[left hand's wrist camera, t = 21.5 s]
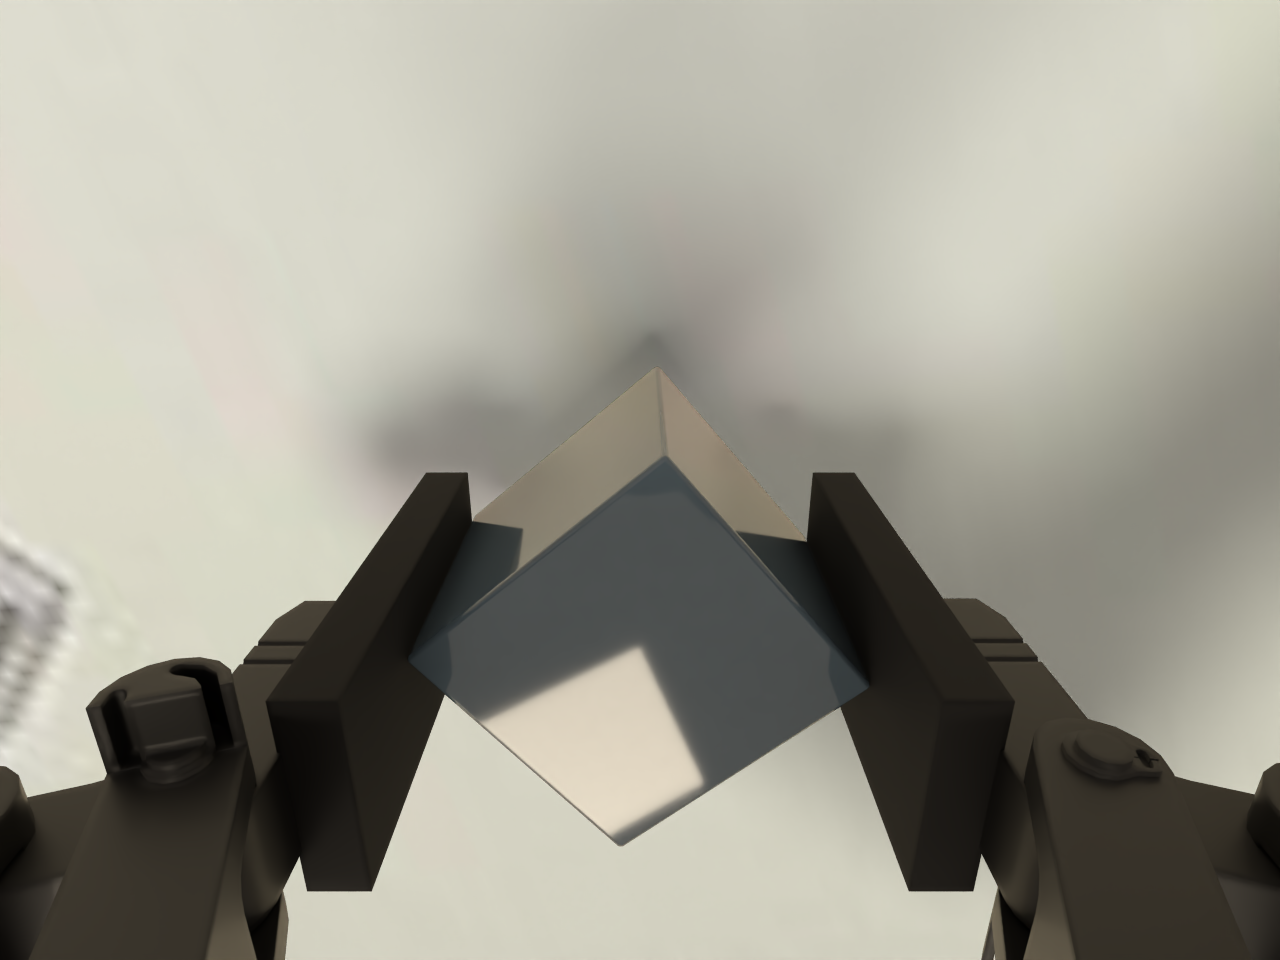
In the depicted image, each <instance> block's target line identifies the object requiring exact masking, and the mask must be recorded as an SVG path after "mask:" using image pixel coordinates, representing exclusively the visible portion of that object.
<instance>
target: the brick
mask: <svg viewBox="0 0 1280 960" xmlns="http://www.w3.org/2000/svg"><path fill="white" fill-rule="evenodd" d="M407 659H408V662H409V663H410V664H411V665H412V666H413V667H414V668H415V669H417V670H418V671H419V672H420V673H421V674H422V675H423V676H425V677H426V678H427V679H428V680H429V681H430V682H431V683H433V684H434V685H435V686H436V687H437V688H438V689H439V690H441V691H442V692H443V693H444V694H445V695H446V696H447V697H449V698H450V699H451V700H452V701H453V702H454V703H455V704H457V705H458V706H459V707H460V708H461V709H462V710H463V711H465V712H466V713H467V714H468V715H469V716H470V717H471V718H473V719H474V720H475V721H476V722H477V723H478V724H479V725H481V726H482V727H483V728H484V729H485V730H486V731H487V732H489V733H490V734H491V735H492V736H493V737H494V738H495V739H497V740H498V741H499V742H500V743H501V744H502V745H503V746H505V747H506V748H507V749H508V750H509V751H510V752H511V753H513V754H514V755H515V756H516V757H517V758H518V759H519V760H521V761H522V762H523V763H524V764H525V765H526V766H527V767H529V768H530V769H531V770H532V771H533V772H534V773H535V774H537V775H538V776H539V777H540V778H541V779H542V780H543V781H545V782H546V783H547V784H548V785H549V786H550V787H551V788H553V789H554V790H555V791H556V792H557V793H558V794H559V795H561V796H562V797H563V798H564V799H565V800H566V801H567V802H569V803H570V804H571V805H572V806H573V807H574V808H575V809H577V810H578V811H579V812H580V813H581V814H582V815H583V816H585V817H586V818H587V819H588V820H589V821H590V822H591V823H593V824H594V825H595V826H596V827H597V828H598V829H599V830H601V831H602V832H603V833H604V834H605V835H606V836H607V837H609V838H610V839H611V840H612V841H613V842H614V843H615V844H617V845H618V846H620V847H621V846H624V845H625V844H627V843H629V842H630V841H632V840H633V839H635V838H636V837H638V836H639V835H641V834H643V833H644V832H646V831H647V830H649V829H650V828H652V827H653V826H655V825H657V824H658V823H660V822H661V821H663V820H664V819H666V818H667V817H669V816H671V815H672V814H674V813H675V812H677V811H678V810H680V809H682V808H683V807H685V806H686V805H688V804H689V803H691V802H692V801H694V800H696V799H697V798H699V797H700V796H702V795H703V794H705V793H706V792H708V791H710V790H711V789H713V788H714V787H716V786H717V785H719V784H721V783H722V782H724V781H725V780H727V779H728V778H730V777H731V776H733V775H735V774H736V773H738V772H739V771H741V770H742V769H744V768H745V767H747V766H749V765H750V764H752V763H753V762H755V761H756V760H758V759H760V758H761V757H763V756H764V755H766V754H767V753H769V752H770V751H772V750H774V749H775V748H777V747H778V746H780V745H781V744H783V743H784V742H786V741H788V740H789V739H791V738H792V737H794V736H795V735H797V734H799V733H800V732H802V731H803V730H805V729H806V728H808V727H809V726H811V725H813V724H814V723H816V722H817V721H819V720H820V719H822V718H823V717H825V716H827V715H828V714H830V713H831V712H833V711H834V710H836V709H838V708H839V707H841V706H842V705H844V704H845V703H847V702H848V701H850V700H852V699H853V698H855V697H856V696H858V695H859V694H861V693H862V692H864V691H866V690H867V689H868V688H869V687H870V684H869V681H868V679H867V676H866V674H865V672H864V670H863V667H862V665H861V663H860V661H859V658H858V656H857V654H856V652H855V649H854V647H853V645H852V643H851V641H850V638H849V636H848V634H847V632H846V629H845V627H844V625H843V623H842V620H841V618H840V616H839V614H838V611H837V609H836V607H835V605H834V603H833V600H832V598H831V596H830V594H829V591H828V589H827V587H826V585H825V582H824V580H823V578H822V576H821V573H820V571H819V569H818V567H817V565H816V562H815V560H814V558H813V556H812V553H811V551H810V549H809V547H808V544H807V542H806V540H805V538H804V536H803V535H802V534H801V532H800V531H799V530H798V529H797V528H796V526H795V525H794V524H793V523H792V522H791V521H790V519H789V518H788V517H787V516H786V515H785V514H784V512H783V511H782V510H781V509H780V508H779V507H778V505H777V504H776V503H775V502H774V501H773V500H772V498H771V497H770V496H769V495H768V494H767V492H766V491H765V490H764V489H763V488H762V487H761V485H760V484H759V483H758V482H757V481H756V480H755V478H754V477H753V476H752V475H751V474H750V473H749V471H748V470H747V469H746V468H745V467H744V466H743V464H742V463H741V462H740V461H739V460H738V458H737V457H736V456H735V455H734V454H733V453H732V451H731V450H730V449H729V448H728V447H727V446H726V444H725V443H724V442H723V441H722V440H721V439H720V437H719V436H718V435H717V434H716V433H715V432H714V430H713V429H712V428H711V427H710V426H709V424H708V423H707V422H706V421H705V420H704V419H703V417H702V416H701V415H700V414H699V413H698V412H697V410H696V409H695V408H694V407H693V406H692V405H691V403H690V402H689V401H688V400H687V399H686V398H685V396H684V395H683V394H682V393H681V392H680V391H679V389H678V388H677V387H676V386H675V385H674V383H673V382H672V381H671V380H670V379H669V378H668V376H667V375H666V374H665V373H664V372H663V371H662V369H661V368H659V367H655V368H653V369H652V370H651V371H650V372H648V373H647V374H646V375H645V376H644V377H642V378H641V379H640V380H639V381H638V382H636V383H635V384H634V385H633V386H631V387H630V388H629V389H628V390H627V391H625V392H624V393H623V394H622V395H621V396H619V397H618V398H617V399H616V400H615V401H613V402H612V403H611V404H610V405H609V406H607V407H606V408H605V409H604V410H602V411H601V412H600V413H599V414H598V415H596V416H595V417H594V418H593V419H592V420H590V421H589V422H588V423H587V424H586V425H584V426H583V427H582V428H581V429H580V430H578V431H577V432H576V433H575V434H574V435H572V436H571V437H570V438H569V439H567V440H566V441H565V442H564V443H563V444H561V445H560V446H559V447H558V448H557V449H555V450H554V451H553V452H552V453H551V454H549V455H548V456H547V457H546V458H545V459H543V460H542V461H541V462H540V463H538V464H537V465H536V466H535V467H534V468H532V469H531V470H530V471H529V472H528V473H526V474H525V475H524V476H523V477H522V478H520V479H519V480H518V481H517V482H516V483H514V484H513V485H512V486H511V487H509V488H508V489H507V490H506V491H505V492H503V493H502V494H501V495H500V496H499V497H497V498H496V499H495V500H494V501H493V502H491V503H490V504H489V505H488V506H487V507H485V508H484V509H483V510H482V511H480V512H479V513H478V514H477V515H476V516H475V517H474V519H473V522H472V524H471V526H470V528H469V530H468V532H467V534H466V536H465V538H464V540H463V543H462V545H461V547H460V549H459V551H458V553H457V555H456V557H455V559H454V562H453V564H452V566H451V568H450V570H449V572H448V574H447V576H446V578H445V580H444V583H443V585H442V587H441V589H440V591H439V593H438V595H437V597H436V599H435V601H434V604H433V606H432V608H431V610H430V612H429V614H428V616H427V618H426V620H425V622H424V625H423V627H422V629H421V631H420V633H419V635H418V637H417V639H416V641H415V643H414V646H413V648H412V650H411V652H410V654H409V656H408V658H407Z"/></svg>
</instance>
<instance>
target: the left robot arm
mask: <svg viewBox="0 0 1280 960" xmlns="http://www.w3.org/2000/svg"><path fill="white" fill-rule="evenodd" d="M471 524H472V516H471V505H470V494H469V483H468V473H426V474H425V475H424V477H423V478H422V479H421V481H420V482H419V484H418V485H417V487H416V488H415V489H414V491H413V492H412V494H411V495H410V497H409V498H408V499H407V501H406V502H405V504H404V505H403V506H402V508H401V509H400V511H399V512H398V514H397V515H396V516H395V518H394V519H393V521H392V522H391V524H390V525H389V526H388V528H387V529H386V531H385V532H384V533H383V535H382V536H381V538H380V539H379V541H378V542H377V543H376V545H375V546H374V548H373V549H372V551H371V552H370V553H369V555H368V556H367V558H366V559H365V560H364V562H363V563H362V565H361V566H360V568H359V569H358V570H357V572H356V573H355V575H354V576H353V578H352V579H351V580H350V582H349V583H348V585H347V586H346V587H345V589H344V590H343V592H342V593H341V595H340V596H339V597H338V599H337V600H336V601H304V602H303V603H301V604H299V605H298V606H296V607H295V608H293V609H292V610H290V611H289V612H287V613H286V614H284V615H282V616H281V617H279V618H278V619H276V620H275V621H274V623H273V624H272V625H271V626H270V628H269V629H268V630H267V631H266V633H265V634H264V635H263V636H262V638H261V639H260V640H259V641H258V646H254V647H253V649H252V650H251V651H250V652H249V654H248V655H247V656H246V657H245V659H244V663H243V664H240V665H239V666H238V667H237V669H236V670H235V671H234V672H233V673H231V669H229V668H228V667H227V666H225V665H224V664H223V663H221V662H220V661H217V660H212V659H206V658H201V657H196V658H181V659H173V660H169V661H165V662H161V663H157V664H153V665H149V666H146V667H144V668H141V669H139V670H137V671H135V672H132V673H130V674H128V675H125V676H123V677H121V678H119V679H118V680H116V681H115V682H113V683H112V684H111V685H109V686H108V687H106V688H105V689H103V690H102V691H100V692H99V693H98V694H97V695H96V697H95V698H94V699H93V700H92V701H91V703H90V704H89V705H88V706H87V707H86V711H87V714H88V717H89V720H90V723H91V726H92V729H93V732H94V735H95V738H96V742H97V745H98V748H99V751H100V754H101V757H102V760H103V763H104V766H105V769H106V772H107V775H106V777H105V780H103V781H99V782H96V783H92V784H87V785H83V786H78V787H74V788H69V789H64V790H60V791H55V792H51V793H46V794H41V795H37V796H32V797H28V798H27V796H26V793H25V791H24V788H23V786H22V783H21V780H20V778H19V775H17V774H16V773H15V772H13V771H12V770H10V769H9V768H7V767H5V766H0V960H285V953H286V943H287V932H288V922H289V919H288V913H287V906H286V901H285V897H284V893H283V889H284V887H285V885H286V883H287V880H288V878H289V876H290V874H291V872H292V870H293V868H294V866H295V864H296V862H297V860H298V858H299V856H300V861H301V865H302V870H303V874H304V879H305V883H306V888H307V891H372V889H373V886H374V884H375V881H376V878H377V875H378V873H379V870H380V867H381V865H382V862H383V859H384V857H385V854H386V851H387V849H388V846H389V843H390V840H391V838H392V835H393V832H394V830H395V827H396V824H397V822H398V819H399V816H400V814H401V811H402V808H403V805H404V803H405V800H406V797H407V795H408V792H409V789H410V787H411V784H412V781H413V779H414V776H415V773H416V770H417V768H418V765H419V762H420V760H421V757H422V754H423V752H424V749H425V746H426V744H427V741H428V738H429V735H430V733H431V730H432V727H433V725H434V722H435V719H436V717H437V714H438V711H439V709H440V706H441V703H442V700H443V698H444V695H445V694H444V693H443V692H442V691H441V690H439V689H438V688H437V687H436V686H435V685H434V684H433V683H431V682H430V681H429V680H428V679H427V678H426V677H425V676H423V675H422V674H421V673H420V672H419V671H418V670H417V669H415V668H414V667H413V666H412V665H411V664H410V663H409V662H408V659H407V658H408V656H409V654H410V652H411V650H412V648H413V646H414V643H415V641H416V639H417V637H418V635H419V633H420V631H421V629H422V627H423V625H424V622H425V620H426V618H427V616H428V614H429V612H430V610H431V608H432V606H433V604H434V601H435V599H436V597H437V595H438V593H439V591H440V589H441V587H442V585H443V583H444V580H445V578H446V576H447V574H448V572H449V570H450V568H451V566H452V564H453V562H454V559H455V557H456V555H457V553H458V551H459V549H460V547H461V545H462V543H463V540H464V538H465V536H466V534H467V532H468V530H469V528H470V526H471ZM807 544H808V547H809V549H810V551H811V553H812V556H813V558H814V560H815V562H816V565H817V567H818V569H819V571H820V573H821V576H822V578H823V580H824V582H825V585H826V587H827V589H828V591H829V594H830V596H831V598H832V600H833V603H834V605H835V607H836V609H837V611H838V614H839V616H840V618H841V620H842V623H843V625H844V627H845V629H846V632H847V634H848V636H849V638H850V641H851V643H852V645H853V647H854V649H855V652H856V654H857V656H858V658H859V661H860V663H861V665H862V667H863V670H864V672H865V674H866V676H867V679H868V681H869V684H870V687H869V688H868V689H867V690H866V691H864V692H862V693H861V694H859V695H858V696H856V697H855V698H853V699H852V700H850V701H848V702H847V703H845V704H844V705H842V706H841V710H842V713H843V715H844V718H845V721H846V723H847V726H848V729H849V731H850V734H851V737H852V739H853V742H854V745H855V748H856V750H857V753H858V756H859V758H860V761H861V764H862V766H863V769H864V772H865V774H866V777H867V780H868V783H869V785H870V788H871V791H872V793H873V796H874V799H875V801H876V804H877V807H878V809H879V812H880V815H881V818H882V820H883V823H884V826H885V828H886V831H887V834H888V836H889V839H890V842H891V844H892V847H893V850H894V853H895V855H896V858H897V861H898V863H899V866H900V869H901V871H902V874H903V877H904V879H905V882H906V885H907V888H908V890H909V891H973V890H974V886H975V881H976V877H977V872H978V868H979V863H980V859H981V854H982V855H983V857H984V859H985V861H986V863H987V865H988V867H989V869H990V871H991V873H992V875H993V877H994V879H995V881H996V883H997V885H998V889H997V893H996V897H995V901H994V906H993V910H992V914H991V918H990V923H989V927H988V931H987V935H986V939H985V944H984V948H983V953H982V959H981V960H993V958H994V954H995V960H1280V763H1276V764H1274V765H1273V766H1272V767H1270V768H1269V769H1267V770H1266V771H1264V772H1263V775H1262V777H1261V780H1260V782H1259V785H1258V788H1257V790H1256V793H1255V795H1254V794H1250V793H1245V792H1240V791H1236V790H1231V789H1227V788H1222V787H1217V786H1213V785H1208V784H1203V783H1199V782H1194V781H1190V780H1186V779H1183V778H1179V777H1175V776H1174V774H1173V772H1172V770H1171V769H1170V768H1169V766H1168V765H1167V763H1166V762H1165V761H1164V759H1163V758H1162V756H1161V755H1160V754H1158V753H1157V752H1156V751H1155V750H1153V749H1152V748H1151V747H1149V746H1148V745H1147V744H1146V743H1144V742H1143V741H1142V740H1141V739H1139V738H1137V737H1135V736H1133V735H1131V734H1129V733H1126V732H1124V731H1122V730H1120V729H1118V728H1116V727H1114V726H1110V725H1107V724H1103V723H1100V722H1096V721H1093V720H1089V719H1088V718H1087V717H1086V716H1085V715H1084V714H1083V712H1082V711H1081V710H1080V709H1079V707H1078V706H1077V705H1076V704H1075V702H1074V701H1073V700H1072V699H1071V698H1070V696H1069V695H1068V694H1067V693H1066V691H1065V690H1064V689H1063V688H1062V686H1061V685H1060V684H1059V683H1058V682H1057V680H1056V679H1055V678H1054V677H1053V675H1052V674H1051V673H1050V672H1049V671H1048V669H1047V668H1046V667H1045V666H1044V664H1043V663H1042V662H1038V657H1037V656H1036V655H1035V653H1034V652H1033V651H1032V650H1031V648H1030V647H1029V646H1028V645H1027V643H1023V639H1022V637H1021V636H1020V635H1019V634H1018V632H1017V631H1016V630H1015V629H1014V628H1013V626H1012V625H1011V624H1010V623H1009V621H1008V620H1007V619H1006V618H1005V617H1004V616H1002V615H1001V614H999V613H998V612H996V611H995V610H993V609H991V608H990V607H988V606H987V605H985V604H984V603H982V602H981V601H979V600H977V599H943V598H942V597H941V595H940V594H939V592H938V591H937V589H936V588H935V587H934V585H933V584H932V582H931V581H930V580H929V578H928V577H927V575H926V574H925V572H924V571H923V570H922V568H921V567H920V565H919V564H918V563H917V561H916V560H915V558H914V557H913V555H912V554H911V553H910V551H909V550H908V548H907V547H906V545H905V544H904V543H903V541H902V540H901V538H900V537H899V536H898V534H897V533H896V531H895V530H894V528H893V527H892V526H891V524H890V523H889V521H888V520H887V518H886V517H885V516H884V514H883V513H882V511H881V510H880V509H879V507H878V506H877V504H876V503H875V501H874V500H873V499H872V497H871V496H870V494H869V493H868V492H867V490H866V489H865V487H864V486H863V484H862V483H861V482H860V480H859V479H858V477H857V476H856V474H855V473H813V477H812V489H811V500H810V511H809V522H808V533H807Z"/></svg>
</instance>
